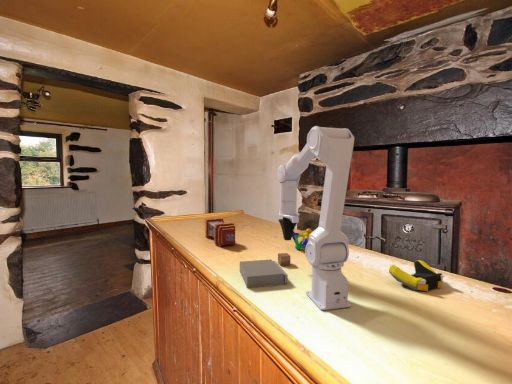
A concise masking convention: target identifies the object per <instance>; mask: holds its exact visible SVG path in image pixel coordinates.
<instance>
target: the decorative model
mask: <svg viewBox="0 0 512 384" xmlns="http://www.w3.org/2000/svg"><path fill="white" fill-rule="evenodd" d="M312 232H313V231H312V228H307V229H305V231H302V232H295V231H293V234H292V238H291V239H292V240H293V242H294V244H295V245H294V248H295V250H301V249H305V248H306V245H307V243H308V240H309V235H310V234H311V233H312ZM301 237H302V238H301ZM299 238H301V240H300V241H299Z"/></svg>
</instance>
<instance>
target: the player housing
mask: <svg viewBox="0 0 512 384" xmlns="http://www.w3.org/2000/svg"><path fill="white" fill-rule="evenodd" d="M273 261H274V260H273V259H260V260H259V259H257V260H246V261H245V260H243V261H239V273H240V276H241V278H242V279H243V280H242V281H243V282H244V284H245V286H246V288H247V289H250V288H261V287H272V286H283V285H284V284H285V283H284V273H283V272H282V271H281V270H280V269H279V268H278V267H277V265H276V264H275V263H274V262H273Z"/></svg>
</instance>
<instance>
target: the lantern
mask: <svg viewBox="0 0 512 384" xmlns="http://www.w3.org/2000/svg"><path fill="white" fill-rule="evenodd" d="M204 222H205V224H204V225H205V238H207V239H208V238H209V239H210V238H213V240H214V245H215V246H216V247H223V246H226V245H234V246H235V244H236V226H235V223H234V222H226V223H225V222H224V218H223V217H215V218H205V221H204Z"/></svg>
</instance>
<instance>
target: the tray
mask: <svg viewBox="0 0 512 384" xmlns="http://www.w3.org/2000/svg"><path fill="white" fill-rule="evenodd" d="M272 261H273V262H274V263H275V264H276V265H277V267H278V268H279V269H280V270H281V271H282V272H283V273H284V284H288V273H286V271H285V270H284V269H283V268H282V266H280V265H279V264H278V262H277V261H276V260H272Z"/></svg>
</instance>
